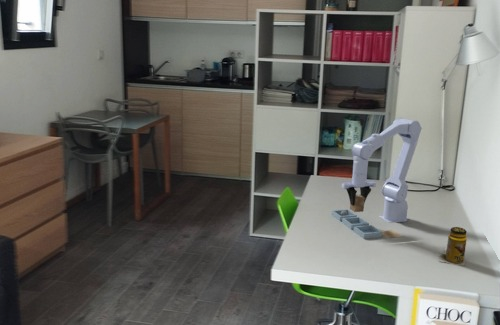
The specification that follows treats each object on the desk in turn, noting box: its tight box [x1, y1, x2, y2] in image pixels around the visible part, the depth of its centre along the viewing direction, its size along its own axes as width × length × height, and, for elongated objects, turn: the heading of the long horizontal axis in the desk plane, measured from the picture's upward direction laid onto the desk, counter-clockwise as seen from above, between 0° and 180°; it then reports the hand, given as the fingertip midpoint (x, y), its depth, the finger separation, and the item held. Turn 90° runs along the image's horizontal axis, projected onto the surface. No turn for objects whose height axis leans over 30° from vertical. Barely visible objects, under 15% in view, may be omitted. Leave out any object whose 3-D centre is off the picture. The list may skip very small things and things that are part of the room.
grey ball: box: [341, 211, 348, 216], centre depth 222 cm, size 3×3×3 cm
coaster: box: [380, 229, 404, 239], centre depth 205 cm, size 7×7×1 cm
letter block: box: [349, 194, 366, 213], centre depth 211 cm, size 4×4×6 cm
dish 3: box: [353, 224, 383, 240], centre depth 204 cm, size 8×8×2 cm
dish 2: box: [341, 216, 370, 231], centre depth 213 cm, size 8×8×2 cm
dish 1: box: [330, 208, 358, 222], centre depth 222 cm, size 8×8×2 cm
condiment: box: [438, 226, 468, 267], centre depth 182 cm, size 7×8×12 cm
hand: (357, 204), depth 211 cm, fingers closed on letter block, 4 cm apart
